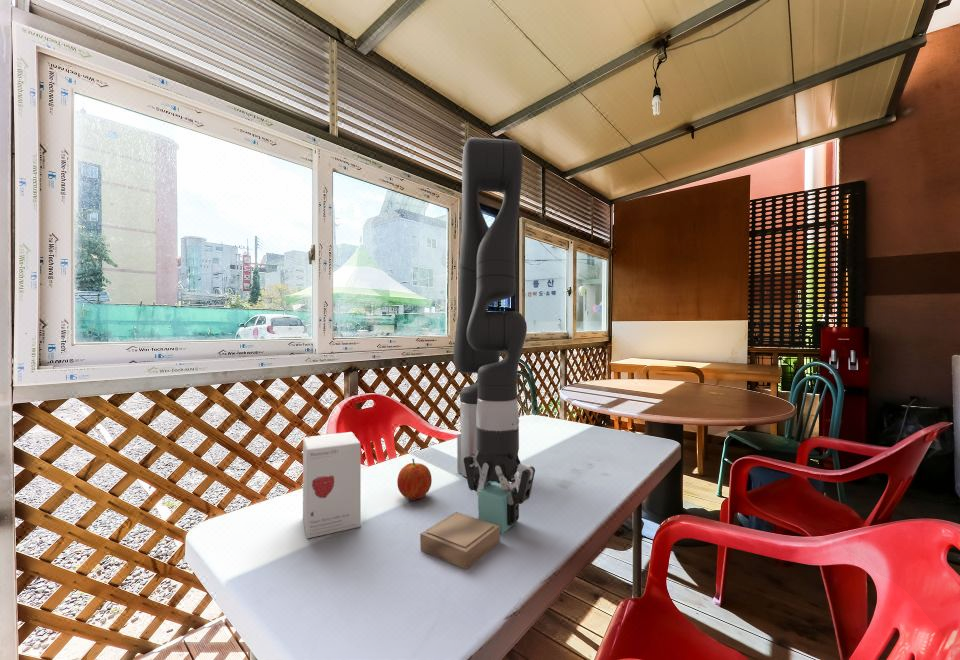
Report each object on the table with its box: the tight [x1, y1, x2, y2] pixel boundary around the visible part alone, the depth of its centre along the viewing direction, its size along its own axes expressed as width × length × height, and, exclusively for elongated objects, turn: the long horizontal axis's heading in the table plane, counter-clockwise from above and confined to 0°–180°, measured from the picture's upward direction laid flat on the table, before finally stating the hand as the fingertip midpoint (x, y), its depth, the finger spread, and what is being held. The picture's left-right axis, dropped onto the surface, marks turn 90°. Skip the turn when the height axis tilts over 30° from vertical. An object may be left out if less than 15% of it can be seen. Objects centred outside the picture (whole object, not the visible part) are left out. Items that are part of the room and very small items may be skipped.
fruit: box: [396, 458, 433, 501], centre depth 81 cm, size 7×7×8 cm
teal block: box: [477, 481, 519, 534], centre depth 70 cm, size 5×5×6 cm
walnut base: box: [419, 511, 501, 570], centre depth 63 cm, size 9×9×3 cm
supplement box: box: [302, 431, 362, 539], centre depth 71 cm, size 9×9×15 cm
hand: (498, 519), depth 70 cm, fingers closed on teal block, 5 cm apart
